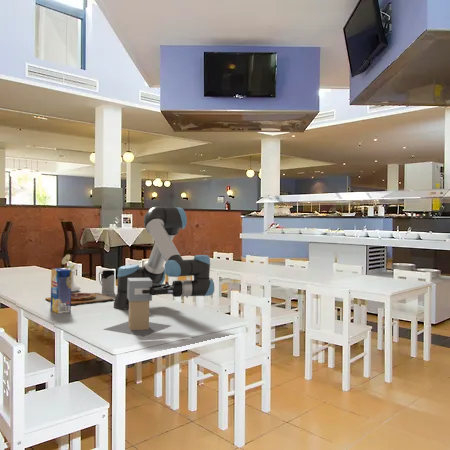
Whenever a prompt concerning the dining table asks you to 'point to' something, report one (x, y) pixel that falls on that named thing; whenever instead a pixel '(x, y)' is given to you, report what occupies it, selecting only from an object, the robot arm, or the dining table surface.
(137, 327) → the carton base
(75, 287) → the flower in vase
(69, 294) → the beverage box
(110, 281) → the grey metal pitcher
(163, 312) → the dining table surface
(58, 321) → the dining table surface
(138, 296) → the grey matte cube
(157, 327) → the charcoal mat
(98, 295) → the pizza
